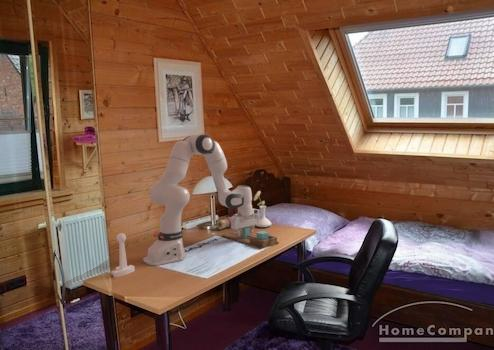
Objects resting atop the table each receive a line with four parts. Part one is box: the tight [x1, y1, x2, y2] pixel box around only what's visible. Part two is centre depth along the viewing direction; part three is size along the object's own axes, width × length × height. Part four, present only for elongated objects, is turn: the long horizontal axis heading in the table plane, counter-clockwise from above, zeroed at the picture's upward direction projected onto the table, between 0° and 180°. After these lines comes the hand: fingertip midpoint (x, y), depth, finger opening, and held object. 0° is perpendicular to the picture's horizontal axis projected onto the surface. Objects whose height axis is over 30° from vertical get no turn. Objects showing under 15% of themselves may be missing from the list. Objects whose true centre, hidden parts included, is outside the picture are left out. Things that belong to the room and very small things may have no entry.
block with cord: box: [240, 227, 270, 241], centre depth 247 cm, size 5×19×6 cm, turn 41°
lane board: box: [221, 230, 279, 250], centre depth 251 cm, size 14×36×4 cm, turn 41°
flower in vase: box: [253, 190, 273, 228], centre depth 280 cm, size 13×11×25 cm
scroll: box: [216, 216, 232, 230], centre depth 282 cm, size 8×8×20 cm
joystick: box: [110, 232, 136, 278], centre depth 202 cm, size 11×8×20 cm
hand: (245, 233), depth 253 cm, fingers open, 8 cm apart
